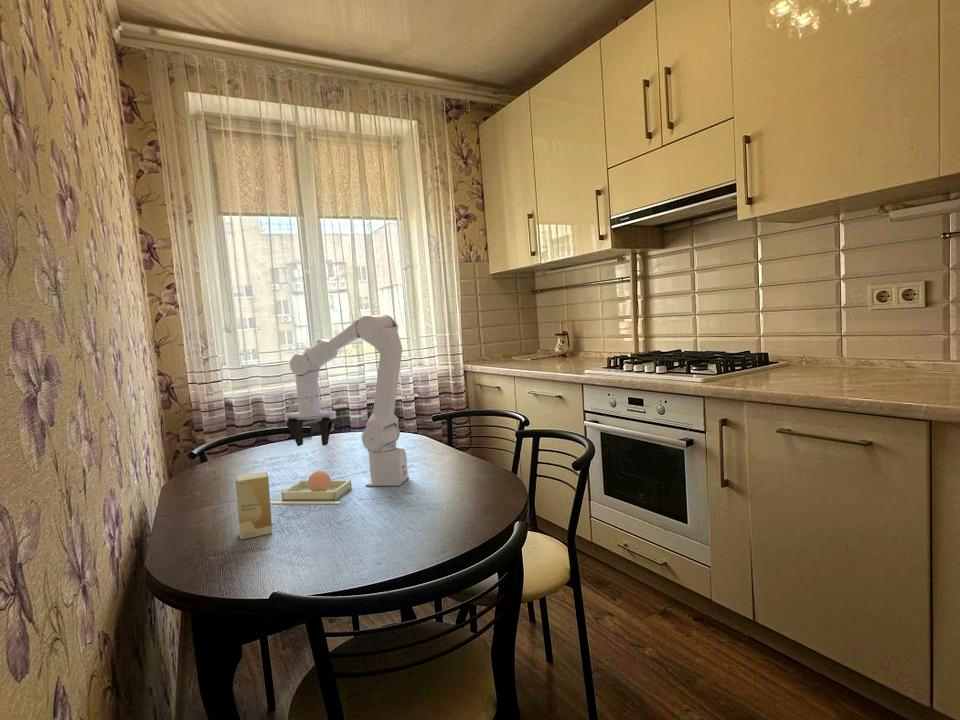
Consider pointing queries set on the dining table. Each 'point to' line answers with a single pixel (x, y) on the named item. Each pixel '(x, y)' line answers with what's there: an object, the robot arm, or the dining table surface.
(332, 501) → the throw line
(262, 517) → the skincare box
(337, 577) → the dining table surface
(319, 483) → the ball
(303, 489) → the tray
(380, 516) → the dining table surface
